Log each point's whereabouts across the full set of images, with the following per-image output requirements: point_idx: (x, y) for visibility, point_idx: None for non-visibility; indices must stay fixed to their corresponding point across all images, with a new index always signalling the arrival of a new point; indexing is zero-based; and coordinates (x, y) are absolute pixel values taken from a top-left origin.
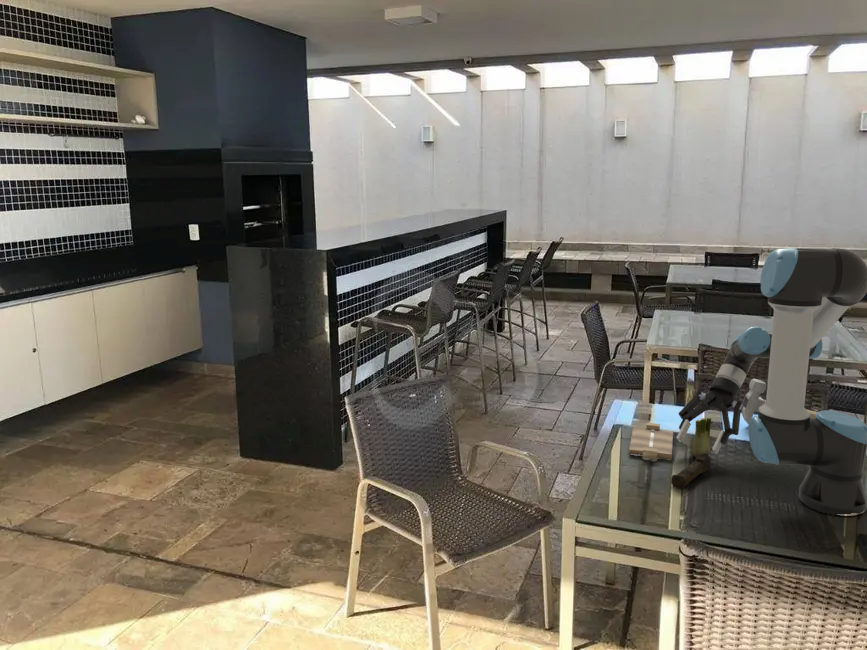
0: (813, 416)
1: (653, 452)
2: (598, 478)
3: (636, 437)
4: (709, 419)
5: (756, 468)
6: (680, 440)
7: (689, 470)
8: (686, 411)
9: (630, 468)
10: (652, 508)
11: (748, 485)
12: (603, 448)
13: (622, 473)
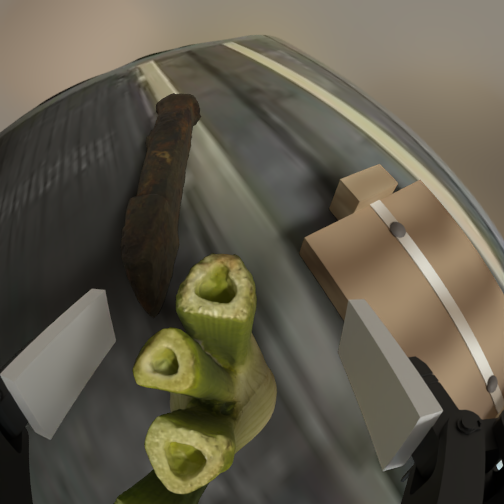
0: None
1: (349, 178)
2: (337, 84)
3: (484, 283)
4: (121, 496)
5: None
6: (343, 331)
7: (159, 129)
8: (498, 498)
9: (340, 135)
10: (193, 68)
11: (23, 261)
12: (466, 195)
13: (329, 111)
